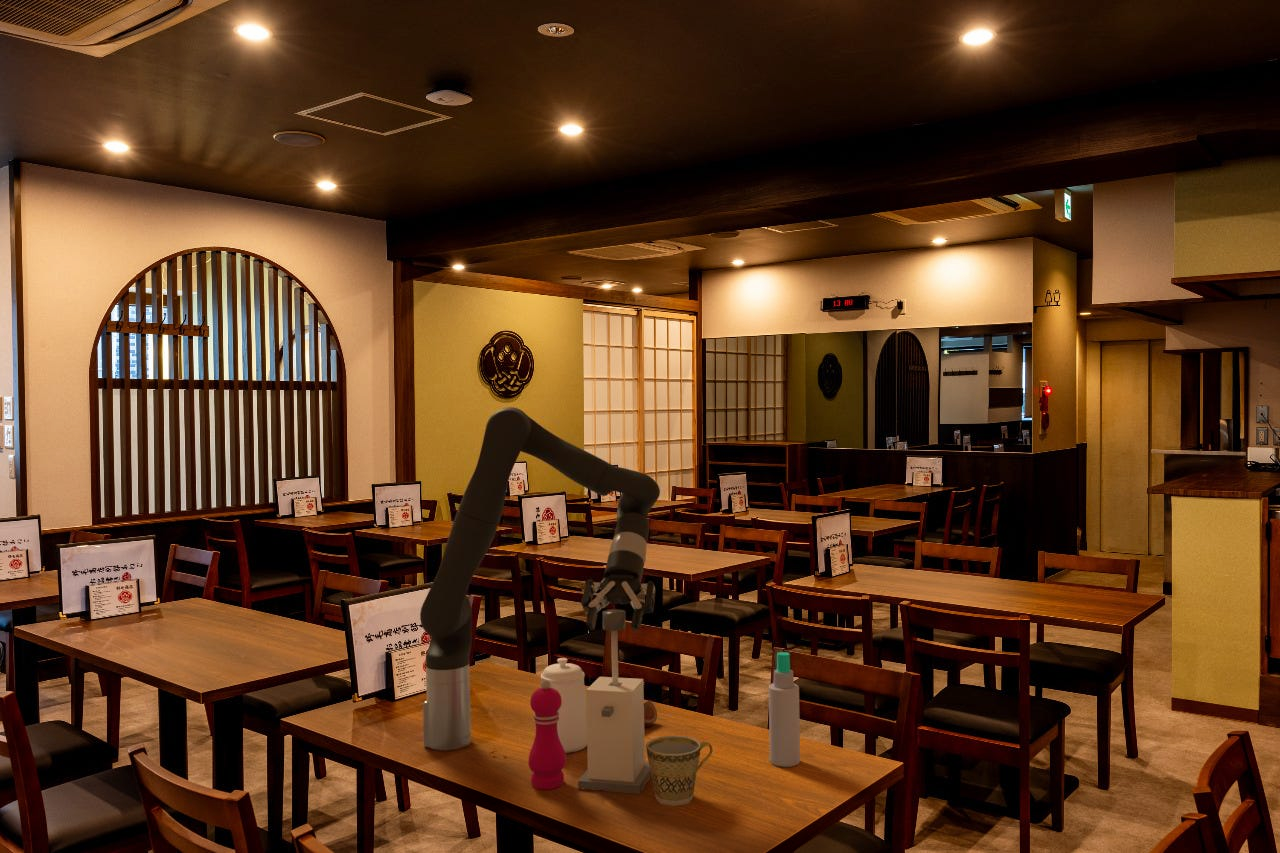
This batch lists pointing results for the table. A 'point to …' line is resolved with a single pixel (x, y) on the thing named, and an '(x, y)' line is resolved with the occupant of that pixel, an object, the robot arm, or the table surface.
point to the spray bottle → (784, 715)
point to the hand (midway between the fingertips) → (612, 628)
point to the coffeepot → (569, 703)
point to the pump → (614, 636)
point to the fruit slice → (649, 713)
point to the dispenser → (615, 737)
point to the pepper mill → (546, 739)
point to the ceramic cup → (674, 767)
